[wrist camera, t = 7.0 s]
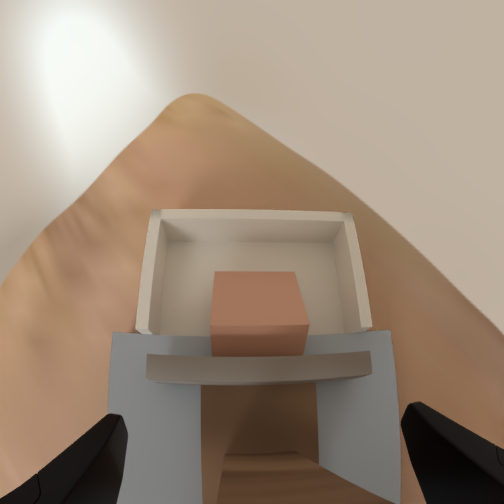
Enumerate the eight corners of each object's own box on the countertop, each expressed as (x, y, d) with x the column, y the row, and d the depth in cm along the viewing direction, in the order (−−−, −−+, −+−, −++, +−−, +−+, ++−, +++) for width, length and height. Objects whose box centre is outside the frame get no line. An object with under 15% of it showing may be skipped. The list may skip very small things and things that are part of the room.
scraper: (355, 498, 11) (499, 563, 2) (160, 506, 10) (64, 612, 2) (349, 360, 14) (491, 276, 6) (160, 363, 14) (51, 276, 5)
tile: (302, 357, 14) (309, 324, 13) (212, 358, 13) (209, 325, 12) (290, 302, 17) (294, 271, 16) (215, 302, 17) (214, 271, 16)
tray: (351, 340, 17) (372, 326, 14) (150, 342, 16) (135, 328, 14) (337, 239, 20) (352, 212, 17) (161, 237, 19) (151, 209, 17)
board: (376, 587, 9) (389, 599, 7) (137, 598, 8) (128, 613, 6) (375, 338, 17) (390, 329, 15) (125, 340, 16) (112, 331, 14)
